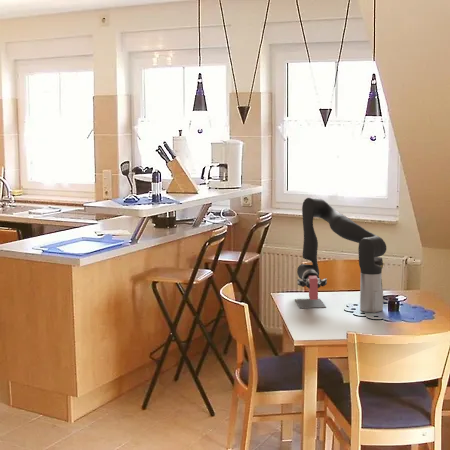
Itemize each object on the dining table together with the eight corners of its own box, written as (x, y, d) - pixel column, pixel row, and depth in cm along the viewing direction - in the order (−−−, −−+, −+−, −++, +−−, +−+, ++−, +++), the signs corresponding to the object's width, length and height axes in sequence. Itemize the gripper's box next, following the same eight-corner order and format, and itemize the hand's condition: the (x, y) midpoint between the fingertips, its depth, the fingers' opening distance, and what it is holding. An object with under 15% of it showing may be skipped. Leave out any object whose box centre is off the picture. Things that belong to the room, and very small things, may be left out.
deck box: (308, 296, 346) (308, 275, 344) (316, 296, 345) (316, 275, 344) (309, 299, 339) (309, 278, 338) (318, 299, 339) (317, 278, 338)
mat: (295, 300, 365) (295, 299, 365) (320, 299, 366) (320, 298, 366) (300, 308, 349) (300, 307, 349) (326, 307, 350) (326, 306, 350)
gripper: (295, 270, 356) (297, 278, 338) (325, 270, 355) (329, 277, 338) (295, 286, 356) (297, 294, 339) (326, 285, 356) (329, 293, 339)
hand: (313, 285), depth 339 cm, fingers closed on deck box, 3 cm apart
